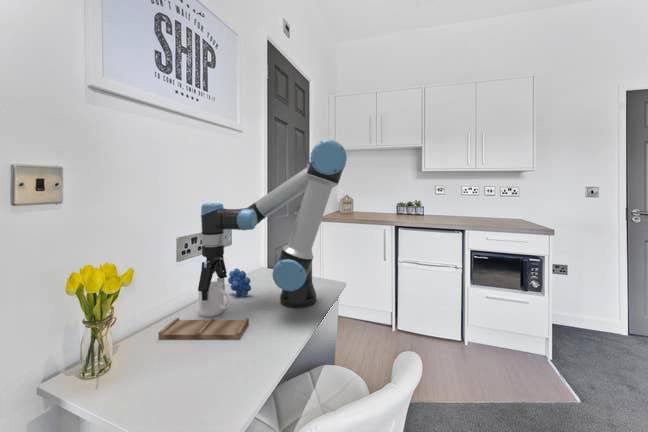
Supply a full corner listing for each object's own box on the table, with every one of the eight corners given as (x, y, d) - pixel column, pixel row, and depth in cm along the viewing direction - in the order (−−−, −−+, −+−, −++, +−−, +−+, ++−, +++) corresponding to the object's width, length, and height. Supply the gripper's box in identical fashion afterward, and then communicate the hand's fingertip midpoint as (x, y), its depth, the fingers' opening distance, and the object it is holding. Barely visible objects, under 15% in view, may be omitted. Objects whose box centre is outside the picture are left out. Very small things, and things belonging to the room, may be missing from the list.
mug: (221, 320, 98) (220, 290, 97) (194, 315, 102) (192, 287, 101) (236, 310, 106) (235, 283, 106) (210, 306, 110) (209, 280, 109)
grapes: (222, 297, 120) (221, 270, 119) (232, 292, 126) (231, 266, 125) (245, 300, 116) (244, 272, 115) (254, 295, 122) (253, 268, 121)
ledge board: (248, 324, 95) (248, 317, 95) (239, 339, 85) (239, 332, 85) (176, 324, 95) (176, 317, 95) (158, 339, 85) (158, 332, 85)
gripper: (216, 239, 115) (217, 289, 116) (185, 252, 90) (187, 315, 91) (234, 239, 114) (235, 289, 116) (208, 252, 90) (210, 315, 91)
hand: (214, 301), depth 104 cm, fingers open, 13 cm apart
